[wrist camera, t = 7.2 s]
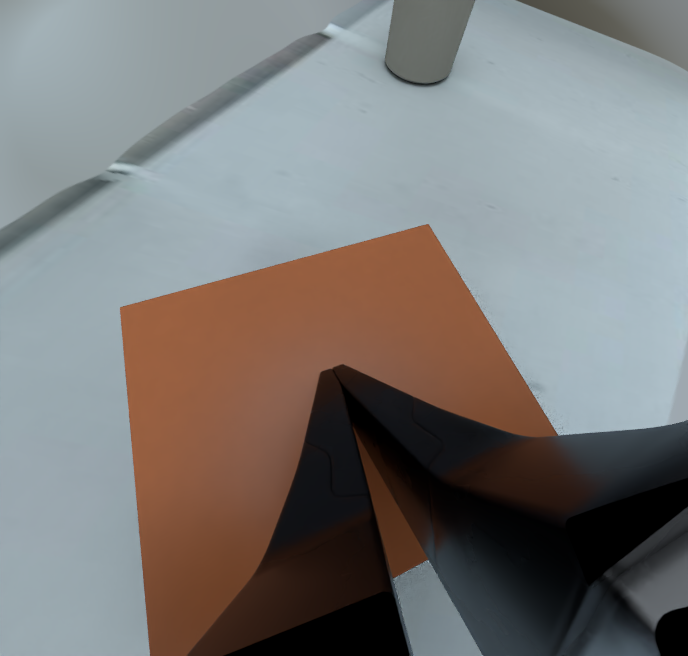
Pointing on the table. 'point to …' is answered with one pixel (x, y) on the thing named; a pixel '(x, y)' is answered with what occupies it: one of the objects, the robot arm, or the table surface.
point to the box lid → (287, 404)
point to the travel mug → (426, 38)
